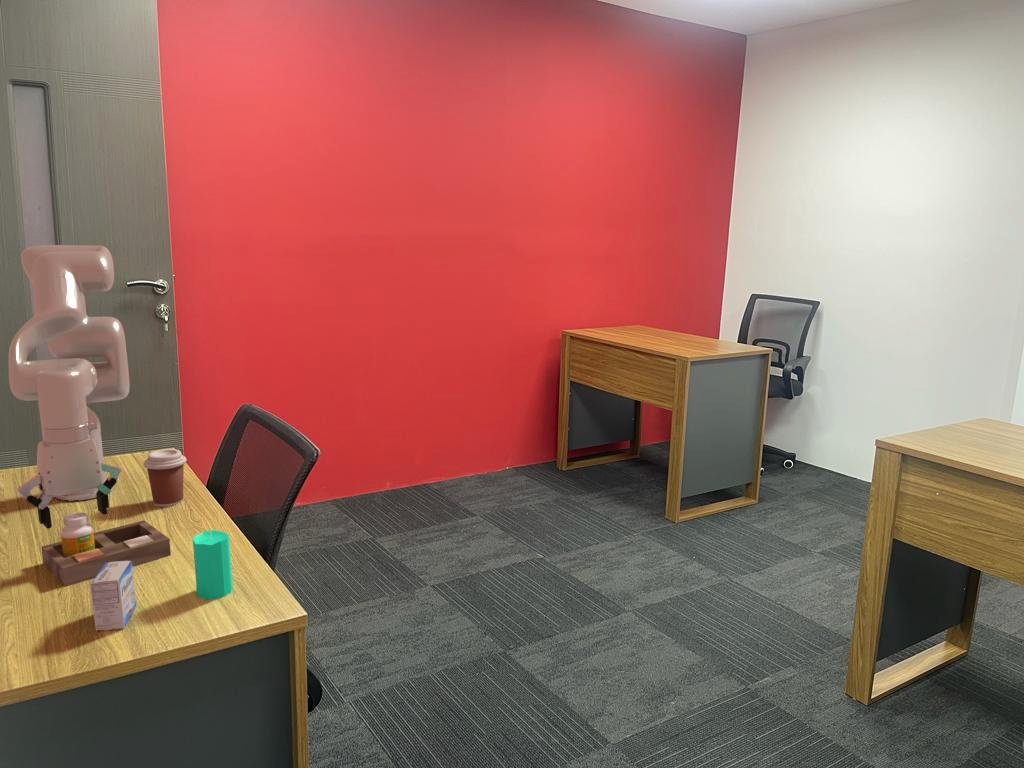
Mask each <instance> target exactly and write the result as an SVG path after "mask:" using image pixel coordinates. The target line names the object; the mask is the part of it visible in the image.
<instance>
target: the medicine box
mask: <svg viewBox="0 0 1024 768" xmlns="http://www.w3.org/2000/svg"><path fill="white" fill-rule="evenodd" d="M133 567H134V566H132V561H116V562H109V563H105V564H104V566H103V567H102V569H101V570H100V572H99V573H98V574H97V576H96V577H94V578H93V579H92V582H91V583H90V584H89V586H90V595H91V601H92V603H91V604H92V611H93V618H94V619H93V620H94V627H95V631H96V632H102V631H101V630H106V631H113V630H112V629H116V630H123V629H122V628H124V629H125V627H126V626H127V624H128V622H129V620H130V619H131V616H132V615H133V613H134V611H135V609H136V608H137V597H136V588H135V577H134V568H133ZM98 630H100V631H98Z"/></svg>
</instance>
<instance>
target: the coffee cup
mask: <svg viewBox="0 0 1024 768" xmlns="http://www.w3.org/2000/svg"><path fill="white" fill-rule="evenodd" d="M186 463H187V457H186V456H185V455H183V454H182V451H181V450H179V449H175V448H164V449H158V450H157V449H156V450H155V451H151V452H149V454H147V458H146V459H144V462H143V467H144V468H145V469H147V474H148V480H149V485H150V490H151V497H152V503H153V505H154V506H155V505H156V506H155V507H158V506H159V508H160V507H161V508H167V507H166V506H170V507H173V506H172V505H175V506H177V505H176V504H178V503H180V502H181V501H183V502H184V471H185V470H184V469H185V468H184V467H185V465H184V464H186ZM180 504H181V503H180ZM178 505H179V504H178Z"/></svg>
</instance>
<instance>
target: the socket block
mask: <svg viewBox="0 0 1024 768" xmlns="http://www.w3.org/2000/svg"><path fill="white" fill-rule="evenodd" d="M93 533H94V543H95V549H93V550H90V551H86V552H82V553H79V554H75V555H72V556H70V557H66V558H64V557H63V548H62V540H61V541H58V542H57V541H56V542H54V543H49V544H46V545H41V557H42V563H43V565H44V566H45V567H46V568H47V569H48V570H49V571H50V572H51V573H52V574H53V575H54V576H55V578H57V580H58V581H59V582H60V583H61V584H62V585H63V586H64V587H67V586H70V585H73V584H77V583H81V582H85V581H87V580H91V579H95V577H96V576H97V574H98V573H99V572H100V570H101V569H102V567H103V566H104V564H105V563H109V562H116V561H132V566H133V567H136V566H139V565H141V564H142V565H143V564H146V563H148V562H153V561H156V560H160V559H162V558H165V557H166V558H167V557H169V556H171V553H172V552H171V543H170V542H171V541H170V540H171V539H170V538H169V537H168V536H166V535H165V534H164V533H162V531H159V530H158V529H157V528H155V527H154V526H152V525H151V524H150V523H148V522H147V521H145V520H141V521H136V522H132V523H129V524H128V523H127V524H124V525H120V526H116V527H112V528H108V529H104V530H100V531H98V532H93Z"/></svg>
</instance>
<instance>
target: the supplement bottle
mask: <svg viewBox="0 0 1024 768" xmlns="http://www.w3.org/2000/svg"><path fill="white" fill-rule="evenodd" d="M88 518H89V517H88V514H87V513H86V512H73V513H69V514H67V515H64V517H63V525H64V527H63V528H62V529H61V530H60V538H61V541H62V548H63V557H64V558H66V557H70V556H72V555H75V554H79V553H82V552H86V551H90V550H93V549H95V543H94V533H95V532H94V528H93V527H94V526H93V525H92V524H90V523H88V522H89V519H88Z"/></svg>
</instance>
